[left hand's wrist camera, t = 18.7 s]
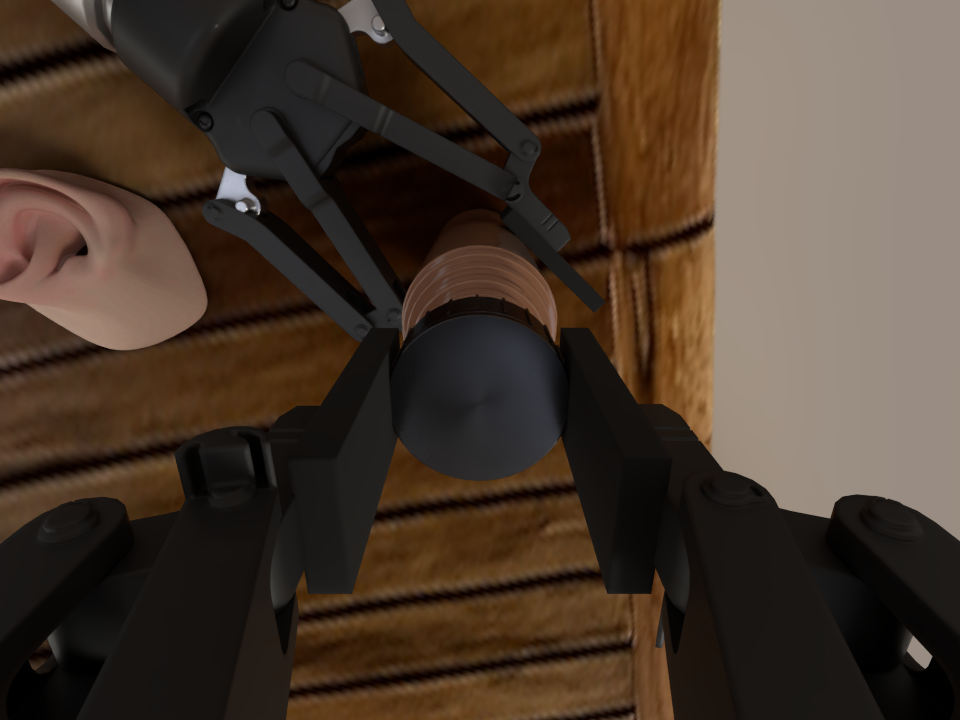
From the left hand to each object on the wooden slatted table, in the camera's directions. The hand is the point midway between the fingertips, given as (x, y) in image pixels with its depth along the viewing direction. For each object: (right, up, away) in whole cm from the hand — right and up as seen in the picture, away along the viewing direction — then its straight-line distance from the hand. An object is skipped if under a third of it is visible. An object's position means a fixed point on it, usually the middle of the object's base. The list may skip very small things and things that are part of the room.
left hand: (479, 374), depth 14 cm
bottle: (0, +7, +18) cm, 19 cm away
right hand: (+4, +1, +13) cm, 14 cm away
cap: (0, -1, -1) cm, 2 cm away
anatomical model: (-24, +7, +18) cm, 31 cm away
